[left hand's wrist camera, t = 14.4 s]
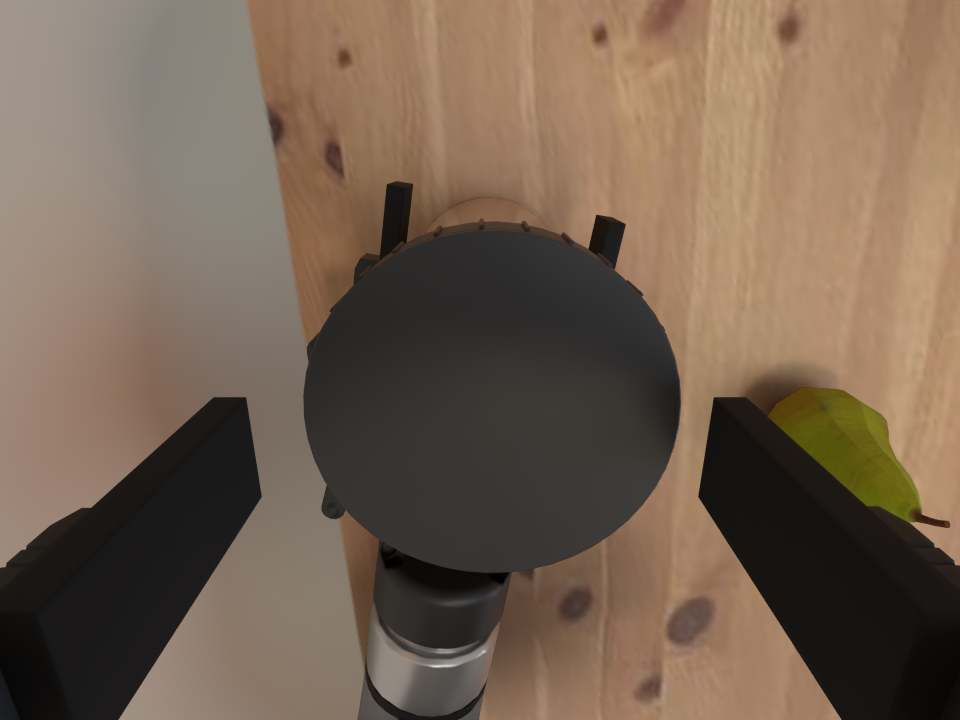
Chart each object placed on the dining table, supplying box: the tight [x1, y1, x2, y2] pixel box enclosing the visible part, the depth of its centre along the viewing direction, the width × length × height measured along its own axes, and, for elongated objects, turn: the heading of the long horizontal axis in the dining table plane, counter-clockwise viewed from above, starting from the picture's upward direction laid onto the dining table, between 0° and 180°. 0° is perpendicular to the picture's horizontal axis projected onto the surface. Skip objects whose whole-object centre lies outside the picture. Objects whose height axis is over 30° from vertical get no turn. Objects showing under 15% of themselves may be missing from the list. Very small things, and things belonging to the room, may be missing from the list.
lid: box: [304, 219, 681, 573], centre depth 15 cm, size 10×10×2 cm
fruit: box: [767, 387, 950, 528], centre depth 29 cm, size 6×6×12 cm
